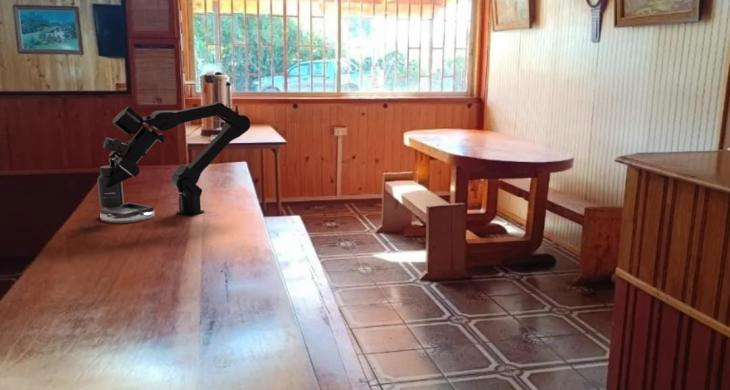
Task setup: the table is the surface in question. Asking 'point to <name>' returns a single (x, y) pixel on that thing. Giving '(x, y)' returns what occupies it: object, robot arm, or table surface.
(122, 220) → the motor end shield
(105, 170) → the supplement bottle
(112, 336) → the table surface
